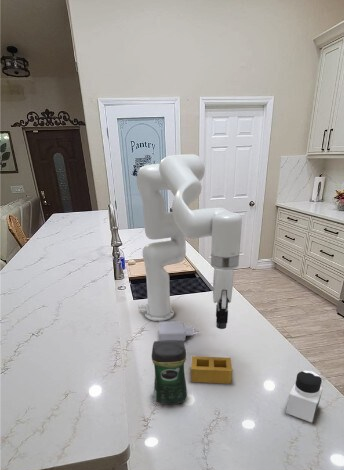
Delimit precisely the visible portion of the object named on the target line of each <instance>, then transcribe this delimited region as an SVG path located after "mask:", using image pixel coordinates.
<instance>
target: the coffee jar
mask: <svg viewBox="0 0 344 470" xmlns="http://www.w3.org/2000/svg"><path fill="white" fill-rule="evenodd" d="M186 360H187V351H186V346H185V343H184V341H182V340H164V341H160V340H154V342H153V343H152V349H151V361H152V364H153V365H154V382H153V396H154V401H155V402H156V403H158V404H161V405H175V404H181V403H184V402H185V401H186V399H187V396H188V389H187V382H186V373H185V362H186Z"/></svg>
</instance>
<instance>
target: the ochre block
mask: <svg viewBox="0 0 344 470" xmlns="http://www.w3.org/2000/svg"><path fill="white" fill-rule="evenodd" d="M190 364H191V365H190V382H191V383H204V384H205V383H206V384H208V383H209V384H224V385H225V384H227V385H231V384H232V378H233V377H232V376H233V367H232V358H231V357H222V356H200V355H199V356H198V355H197V356H196V355H195V356H194V355H192V356H191V363H190Z"/></svg>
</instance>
